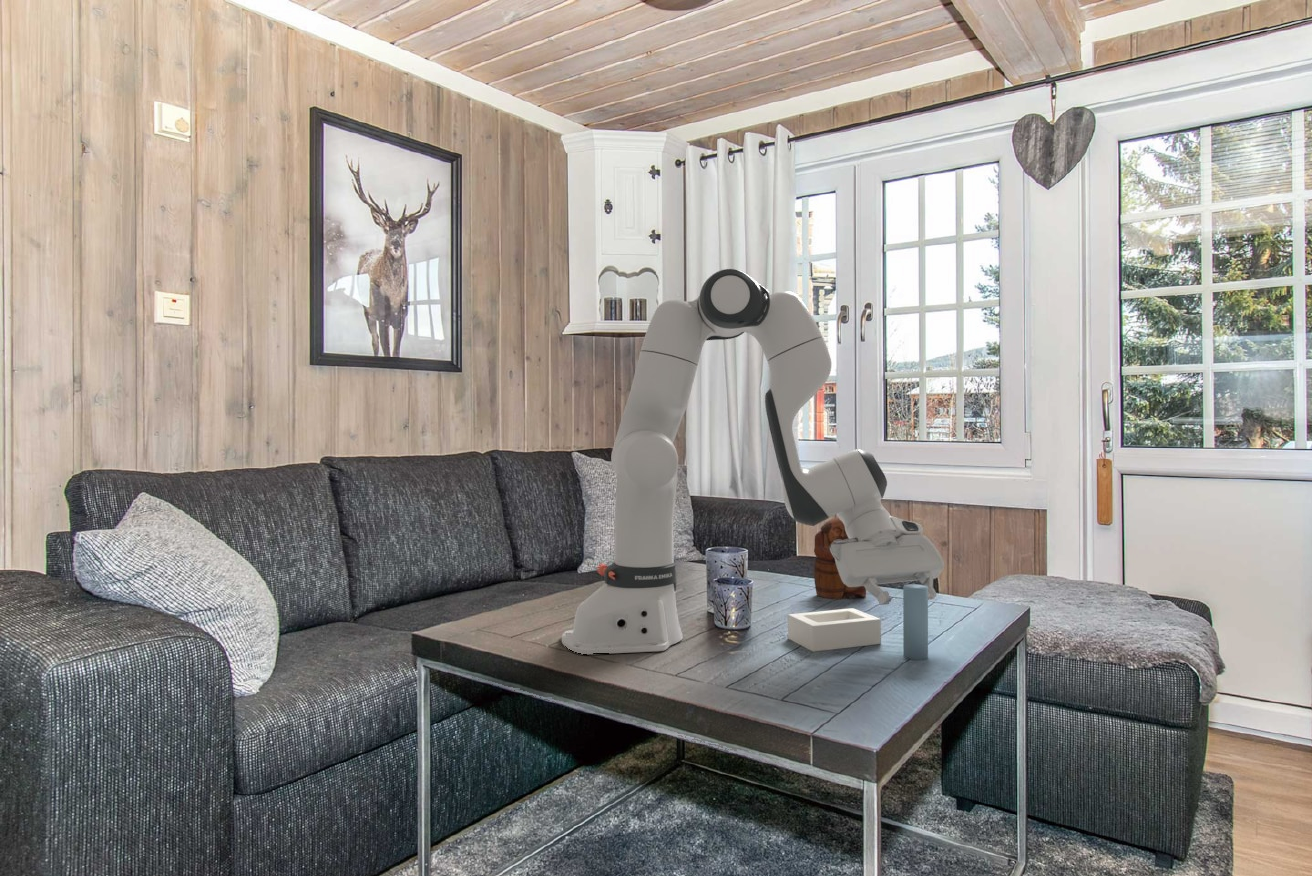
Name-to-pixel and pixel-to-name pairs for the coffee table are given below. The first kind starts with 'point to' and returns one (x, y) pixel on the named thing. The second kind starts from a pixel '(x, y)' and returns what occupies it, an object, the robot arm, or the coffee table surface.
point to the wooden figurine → (831, 564)
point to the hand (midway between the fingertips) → (909, 600)
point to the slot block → (834, 629)
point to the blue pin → (915, 621)
